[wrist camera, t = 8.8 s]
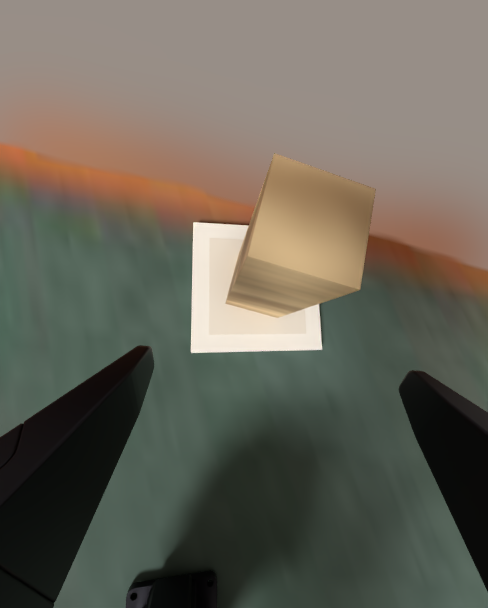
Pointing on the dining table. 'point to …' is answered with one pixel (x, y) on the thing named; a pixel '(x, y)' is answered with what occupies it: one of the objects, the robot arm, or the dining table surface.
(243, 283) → the oak block
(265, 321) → the tile
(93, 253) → the dining table surface
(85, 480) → the robot arm
